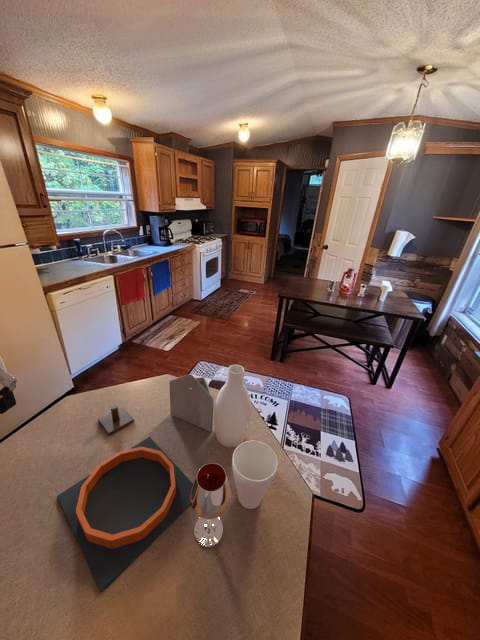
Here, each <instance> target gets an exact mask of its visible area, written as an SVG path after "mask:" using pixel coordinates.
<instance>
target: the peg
mask: <svg viewBox="0 0 480 640" xmlns="http://www.w3.org/2000/svg"><path fill="white" fill-rule="evenodd" d="M97 421H98V423H99V424H100V425H101V427H102V428H103V429H104V431H105V432H106V434H107V435H108V436H112V435H113V434H115V433H117V432H118V431H120V430H122V429H123V428H125V427H127V426H129V425H130V424H132V423H134V422H135V418H134V417H133V416H132V415H131V414H130V412H128V411H127V410H126V409H125V407H123V406H120V407H119V406H118V404H112V405H111V406H110V412H109V413H106V414H105V415H103V416H101V417H99V418H97Z"/></svg>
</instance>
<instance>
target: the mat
mask: <svg viewBox="0 0 480 640" xmlns="http://www.w3.org/2000/svg"><path fill="white" fill-rule="evenodd" d="M138 447H146V448H150V449H154V450H158V451H161V452H162V453H163V454H164V455H165V456H166V457H167V458H168V459H169V460H170V461H171V463H172V464H173V465H174V475H175V484H176V494H175V496H174V499H173V501H172V503H171V506H170V508H169V510H168V513H167V515H166V517H165V519H164V520H163V521H162V522H160V523H159V524H158V525H157V526H156V527H155V528H154V529H153V530H152V531H151V532H150V533H149V534H148V535H147V536H146V537H144V538H143V539H142V540H139V541H136V542H133V543H130V544H127V545H124V546H121V547H117V548H114V549H111V548H108V547H104V546H101V545H98V544H95V543H92V542H89V541H88V540H87V538H86V536H85V534H84V532H83V530H82V528H81V526H80V524H79V522H78V519H77V515H76V508H77V503H78V499H79V494H80V490H81V487H82V485H83V484H84V483H85V481H86V480H87V479H88V477H89V476H90V475H91V474H92V473H90V474H88V475H87V476H85V477H84V478H82V479H81V480H79V481H77V482H76V483H74V484H73V485H72V486H70V487H69V488H66V489H65V490H64V491H61V492H60V493H59V494H57V495H56V498H57V500H58V501H59V504H60V506H61V508H62V511H63V514H64V516H65V518H66V519H67V521H68V524H69V525H70V528H71V531H72V532H73V535H74V537H75V539H76V541H77V543H78V545H79V548H80V550H81V553H82V554H83V556H84V558H85V561H86V563H87V565H88V567H89V569H90V571H91V574H92V577H93V578H94V580H95V582H96V585H97V588H98V589H99V592H100V593H102V592H103V591H104V590H105V589H107V587H108V586H109V585H110V584H111V583H113V581H114V580H115V579H116V578H117V577H119V576H120V575H121V573H123V572H124V571H125V570H126V569H127V568H128V567H129V566H130V565H131V564H132V563H133V562H134V561H135V560H136V559H137V558H138V557H139V556H140V555H141V554H142V553H143V552H144V551H145V550H146V549H147V548H148V547H150V545H152V543H153V542H154V541H155V540H156V539H157V538H159V537H160V536H161V534H163V533H164V531H166V530H167V529H168V528H169V527H170V526H171V525H172V524H173V523H174V522H175V521H176V520H177V519H178V518H179V517H180V516H181V515H182V514H183V513H184V512H185V511H186V510H187V509H188V508H189V507H191V502H190V492H191V488H192V485H193V482H192V481H191V480H190V479H189V478H188V476H187V475H186V474H185V473H184V471H182V470H181V469H180V468H179V467H178V466H177V465H176V464H175V462H173V460H172V459H171V458H170V457H169V456H168V454H166V453H165V452H164V451H163V449H162V448H161V447H160V446H159V445H158V444H157V443H156V442H155V441H154V440H153V438H151V436H148V437H146V438H145V439H143V440H142V441H140V442H138V443H137V444H135V445H134V446H132V447H131V448H130V449H134V448H138ZM170 487H171V480H170V473H169V472H168V471H167V470H166V469H165V468H164V467H163V465H162V464H161V463H160V462H159V461H155V460H151V459H147V458H143V457H141V458H137V459H132V460H128V461H123V462H121V463H119V464H118V465H116V466H115V467H113V468H112V469H110V470H109V471H107V472H106V473H104V474H103V475H102V476H101V477H100V479H99V480H98V481H97V483H96V484H95V485H94V487H93V488H92V490H91V491H90V492H89V494H88V496H87V501H86V506H85V511H84V516H85V518H86V520H87V522H88V524H89V526H90V528H92V529H95V530H98V531H102V532H105V533H108V534H112V535H114V534H118V533H121V532H124V531H127V530H131V529H134V528H137V527H140V526H141V525H142V524H143V523H145V522H146V521H147V520H148V519H149V518H150V517H151V516H152V515H154V514H155V513H156V512H157V511H158V510H159V509H160V508H161V507H162V505H163V503H164V501H165V498H166V496H167V494H168V492H169V490H170ZM134 559H135V560H134ZM133 560H134V561H133ZM132 561H133V562H132ZM131 562H132V563H131ZM130 563H131V564H130ZM129 564H130V565H129ZM128 565H129V566H128ZM127 566H128V567H127ZM126 567H127V568H126Z"/></svg>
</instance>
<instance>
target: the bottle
mask: <svg viewBox="0 0 480 640" xmlns="http://www.w3.org/2000/svg"><path fill="white" fill-rule="evenodd" d="M244 373H245V368H244V367H243V365H241V364H231V365H229V366H228V368H227V380H226V382H225V383H224V384H223V386H222V387H221V388H220V390H219V392H218V394H217V397H216V399H215V402H214V406H213V423H214V424H213V425H214V432H215V437H216V440H217V442H218V443H219V444H220V445H222V446H223V447H226V448H235V447H237V446H238V445H240V444H241V443H243V442H245V438H246V435H247V432H248V429H249V425H250V421H251V416H252V401H251V397H250V393H249V390H248V389H247V387H246V386H245V385H246V384H244Z"/></svg>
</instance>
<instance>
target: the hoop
mask: <svg viewBox="0 0 480 640" xmlns="http://www.w3.org/2000/svg"><path fill="white" fill-rule="evenodd" d="M141 457H143V458H147V459H151V460H155V461H159V462H160V463H161V464H162V465H163V467H164V468H165V469H166V470H167V471H168V472H169V473H170V480H171V487H170V490H169V492H168V494H167V496H166V498H165V501H164V503H163V505H162V507H161V508H160V509H159V510H158V511H157V512H156V513H155V514H154V515H152V516H151V517H150V518H149V519H148V520H147V521H146V522H145V523H143V524H142V525H141V526H140V527H137V528H134V529H131V530H127V531H124V532H121V533H118V534H114V535H112V534H108V533H105V532H102V531H98V530H95V529H92V528H90V526H89V524H88V522H87V520H86V518H85V516H84V511H85V506H86V501H87V496H88V494H89V492H90V491H91V490H92V488H93V487H94V485H95V484H96V483H97V481H98V480H99V479H100V477H101V476H102V475H103V474H104V473H106V472H107V471H109V470H110V469H112V468H113V467H115V466H116V465H118V464H119V463H121V462H123V461H128V460H132V459H137V458H141ZM171 461H172V460H171ZM171 461H170V460H169V459H168V458H167V457H166V456H165V455H164V454H163V453H162V452H161V451H158V450H154V449H150V448H146V447H138V448H134V449H131V448H130V449H125V450H120V451H118V452H117V453H115V454H113V455H112V456H110V457H108V458H107V459H105V460H104V461H102V462H101V463H99V464H98V465H97V466H96V467H95V468H94V469H93V471H92V472H91V473H90V474H91V475H90V474H89V475H90V476H89V475H88V476H89V477H88V479H87V480H86V481H85V483H84V484H83V485H82V487H81V490H80V494H79V499H78V503H77V508H76V515H77V519H78V522H79V524H80V526H81V528H82V530H83V532H84V534H85V536H86V538H87V540H88V541H89V542H92V543H95V544H98V545H101V546H104V547H108V548H111V549H114V548H117V547H121V546H124V545H127V544H130V543H133V542H136V541H139V540H142V539H143V538H144V537H146V536H147V535H148V534H149V533H150V532H151V531H152V530H153V529H154V528H155V527H156V526H157V525H158V524H159V523H160V522H162V521H163V520H164V519H165V517H166V515H167V513H168V510H169V508H170V506H171V503H172V501H173V499H174V496H175V494H176V484H175V475H174V465H173V464H172V463H171Z"/></svg>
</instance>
